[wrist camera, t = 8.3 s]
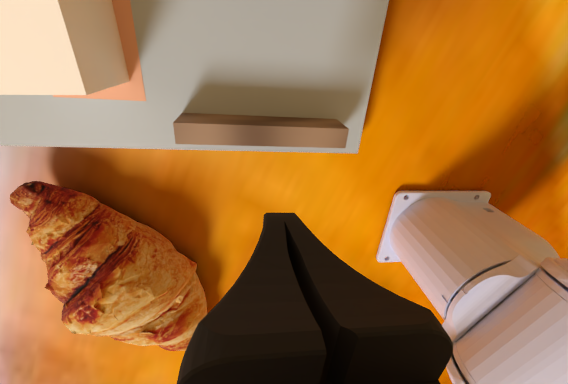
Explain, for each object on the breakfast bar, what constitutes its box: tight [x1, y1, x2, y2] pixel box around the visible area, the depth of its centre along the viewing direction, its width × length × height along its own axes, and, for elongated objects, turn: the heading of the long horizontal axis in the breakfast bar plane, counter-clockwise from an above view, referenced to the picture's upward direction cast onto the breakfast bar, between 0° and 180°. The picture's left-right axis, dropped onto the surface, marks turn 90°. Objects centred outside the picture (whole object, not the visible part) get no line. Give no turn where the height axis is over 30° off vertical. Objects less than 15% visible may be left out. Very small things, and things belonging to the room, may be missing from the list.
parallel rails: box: [173, 113, 349, 148], centre depth 15 cm, size 10×11×2 cm
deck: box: [0, 0, 389, 153], centre depth 16 cm, size 28×13×2 cm, turn 86°
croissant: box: [10, 181, 207, 351], centre depth 22 cm, size 21×10×8 cm, turn 25°
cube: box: [0, 0, 130, 95], centre depth 12 cm, size 5×5×5 cm
